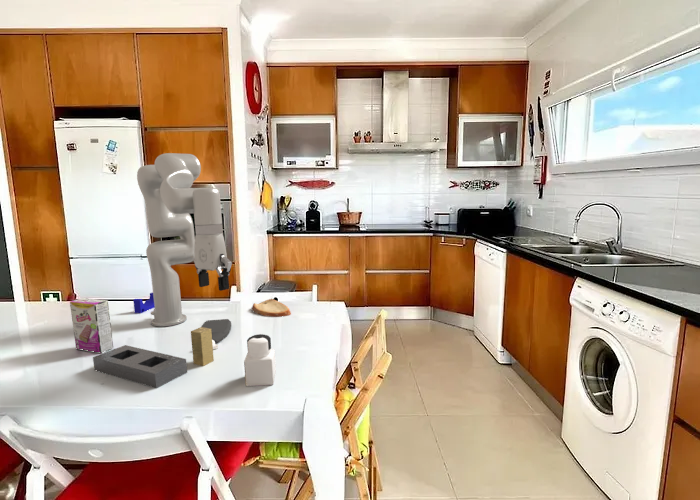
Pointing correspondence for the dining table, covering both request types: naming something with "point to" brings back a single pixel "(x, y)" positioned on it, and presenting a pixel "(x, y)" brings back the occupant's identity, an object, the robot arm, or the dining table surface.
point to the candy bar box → (91, 324)
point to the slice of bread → (271, 308)
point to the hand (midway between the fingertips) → (214, 287)
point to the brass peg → (202, 346)
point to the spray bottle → (218, 330)
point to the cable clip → (141, 307)
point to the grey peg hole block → (140, 365)
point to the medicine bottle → (259, 361)
